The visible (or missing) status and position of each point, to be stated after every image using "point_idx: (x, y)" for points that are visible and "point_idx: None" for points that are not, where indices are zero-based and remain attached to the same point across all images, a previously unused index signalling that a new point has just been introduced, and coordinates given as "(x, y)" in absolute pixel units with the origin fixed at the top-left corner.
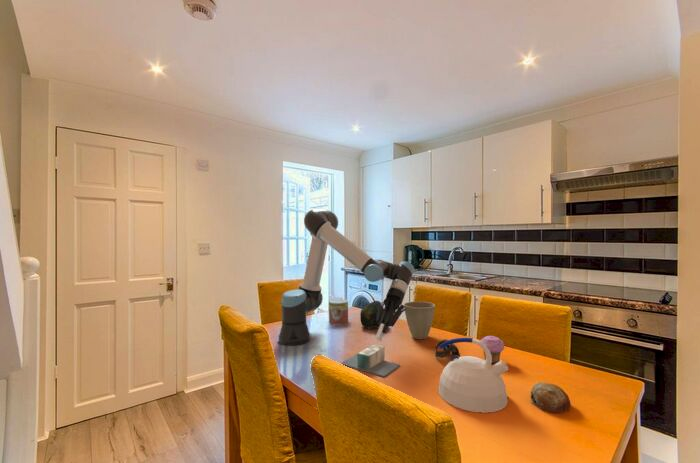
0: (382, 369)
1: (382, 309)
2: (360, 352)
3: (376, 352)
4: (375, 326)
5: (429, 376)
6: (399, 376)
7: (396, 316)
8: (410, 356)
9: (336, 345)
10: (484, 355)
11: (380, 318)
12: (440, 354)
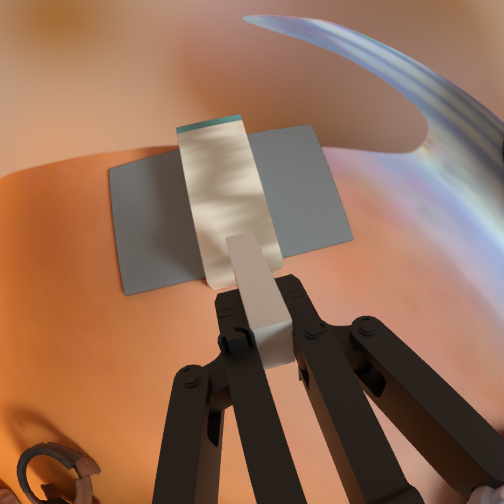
0: (145, 200)
1: (452, 480)
2: (238, 129)
3: (189, 196)
4: None
5: (19, 298)
6: (77, 218)
7: (163, 480)
8: None
9: (469, 244)
10: (4, 497)
11: (382, 394)
12: (51, 448)
